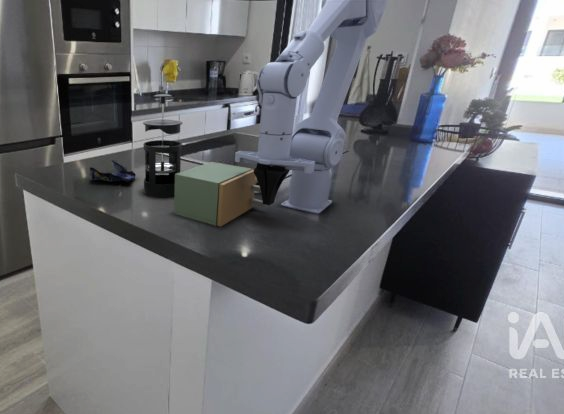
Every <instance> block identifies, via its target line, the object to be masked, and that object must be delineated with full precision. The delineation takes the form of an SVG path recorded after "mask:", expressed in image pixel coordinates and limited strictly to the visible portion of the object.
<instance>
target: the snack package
mask: <svg viewBox="0 0 564 414" xmlns="http://www.w3.org/2000/svg"><path fill="white" fill-rule="evenodd" d="M109 161H111V166H112V168H113V169H114V170H115V172H113V171H111V172H101V171H99V170H97V169H96V168H95V167H92V166H90V167H89V172H88V173H89V174H88V175H89V177H90V179H91V181H93V180H100V181H105V182H120V181H123V182H126V183H130V182H132V181H134V180H135V179H136V176H137V174H136V173H135V172H134V171H132V170H130V171H128V168H127V166H125V165H124V164H122V163H121V162H118V161H117V160H114V159H111V160H110V159H109ZM106 169H107V170H108V169H109V167H106ZM126 186H127V187H128V186H129V185H128V184H127V185H126Z"/></svg>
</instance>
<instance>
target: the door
mask: <svg viewBox="0 0 564 414" xmlns="http://www.w3.org/2000/svg"><path fill="white" fill-rule="evenodd" d="M255 178H256V176H255V174H254V169H252V170H251V171H249V172H246V173H244V174H242V175H239V176H237V177H235V178H233V179H230V180H228V181H226V182H224V183H221V184H220V188H219V204H218V220H217V225H216V227H220V228H221V227H223V226H224V225H226V224H228V223H229V222H231V221H232V220H234V219H237V218H238V217H239V216H242V214H245V213H246V212H248V211H249V210H251V209H253V208H254V206H258V207H262V208H267V207H268V205H265V204H263V201H262V199H258V198H254V197H255V194H254V191H258V192H261V190H260V186H257V185H255Z"/></svg>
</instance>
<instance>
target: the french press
mask: <svg viewBox="0 0 564 414" xmlns="http://www.w3.org/2000/svg"><path fill="white" fill-rule="evenodd" d="M172 97H173V95H172V94H167V93H159V94H155V95H153V98H160V104H161V119H152V120H146V121H143V122H142V124H143V126H144V131H145V133H147V132H148V131H153V130H155V131H156V130H160V131H161V139H159V140H157V139H156V140H149V141H145V142H143V151H144V161H145V162H144V174H145V177H144V178H143V189H142V194H143V195H144V196H146V197H148V198H154V199H172V198H175V174H177V173H180V172H181V160H182V159H181V158H182V157H181V156H182V150H183V143H182V142H181V141H180V140H174V139H172V140H168V139H164V135H165V134H167V135H175V134H180V133H181V125H183V122H182V121H180V120H174V119H165V118H164V114H165V109H164V108H165V104H166V98H172ZM164 133H165V134H164ZM164 146H165V147H164ZM157 154H161V162H156V160H157V159H156V158H157V156H156V155H157ZM164 154H168V162H164Z"/></svg>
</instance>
